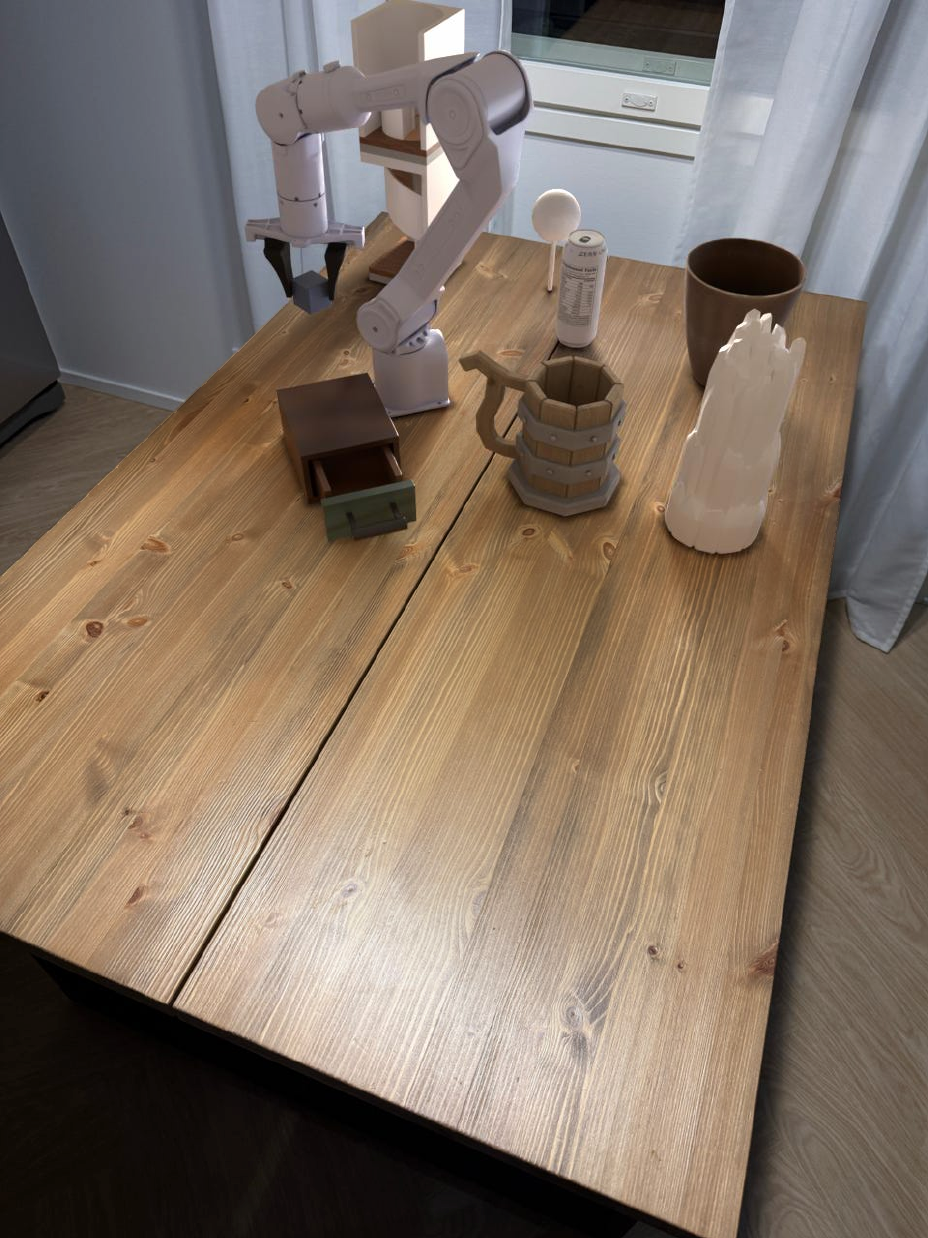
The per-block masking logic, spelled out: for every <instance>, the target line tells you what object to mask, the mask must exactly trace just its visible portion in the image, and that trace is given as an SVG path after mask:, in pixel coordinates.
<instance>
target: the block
mask: <svg viewBox="0 0 928 1238" xmlns="http://www.w3.org/2000/svg"><path fill="white" fill-rule="evenodd" d="M291 286H292V293H293V295H292V303H293V305H294V306H295V307H297V308H298V309H300V310H302V311H303V312H305V313H307V314H308V315H309V316H313V315H315V314H316V313H319V312H321V311H323V310H325V309H327V308H330V307H331V306H332V301H329V297H328V278H327V277H325V276H323V275H322V274H319V273H318V272H316V271H315V270H314V269H311V270H309V271H306V272H304V273H302V274H300V275H298V276H295V277H293V279H291Z"/></svg>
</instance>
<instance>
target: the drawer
mask: <svg viewBox="0 0 928 1238" xmlns="http://www.w3.org/2000/svg"><path fill="white" fill-rule="evenodd" d="M308 463H309V470H310V474H311V477H312V480H313V483H314V485H315V488H316V491H317V493H318V496H319V499H320V501H319V502H320V504H321V511H322V518H323V519H322V520H323V524H324V525H323V526H324V531H325V536H326V539H327V542H332V541H336V540H341V539H345V538H350V537H351V538H352V541H353V542H359V541H363V540H368V539H372V538H376V537H380V536H385V535H388V534H394V533H398V532H402V531H407V530H408V524H410V523H414V522H417V501H416V485H415V483H414V481H413V479H408V480H404V478H403V472H402V470H401V471H400V469H399V467H398V464H397V462H396V460H395V458H394V456H393V454H392V452H391V450H390V448H389V445H388V444H385V445H380V446H375V447H370V448H365V449H361V450H356V451H351V452H346V453H342V454H337V455H332V456H327V457H322V458H318V459H313V460H308Z"/></svg>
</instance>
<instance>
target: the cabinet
mask: <svg viewBox="0 0 928 1238" xmlns="http://www.w3.org/2000/svg"><path fill="white" fill-rule="evenodd" d="M373 382H374V381H373V380H372V378H371V376H370V374H369V373H368V372H362V373H357V374H352V375H347V376H341V377H336V378H330V379H325V380H321V381H315V382H310V383H304V384H299V385H294V386H289V387H284V388H283V387H282V388H279V389H276V390H275V393H276V399H277V403H278V404H277V405H278V410H279V414H280V420H281V427H282V432H283V438H284V440H285V443H286V446H287V449H288V452H289V454H290V458H291V460H292V463H293V465H294V466H293V467H294V469H295V472H296V474H297V477H298V480H299V483H300V485H301V488H302V491H303V494H304V496H305V500H306V502H307V504H308V505H310V504H315V503H320V502H321V501H320V499H319V496H318V493H317V491H316V488H315V485H314V483H313V480H312V477H311V474H310V470H309V463H308V460H313V459H318V458H322V457H327V456H332V455H337V454H342V453H346V452H351V451H356V450H361V449H365V448H370V447H375V446H380V445H385V444H388V445H389V448H390V450H391V452H392V454H393V456H394V458H395V460H396V462H397V464H398V467H399V469H400V471H401V472H402V464H401V462H402V461H401V447H400V445H401V443H400V435H399V433H398V431H397V429H396V427H395V424H394V422H393V421H392V419H391V418H390V417H389V415H388V413H387V411H386V409H385V407H384V404H383V402H382V400H381V398H380V396H379V394H378V392H377V390H376V388H375V386H374V384H373Z"/></svg>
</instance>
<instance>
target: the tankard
mask: <svg viewBox="0 0 928 1238" xmlns="http://www.w3.org/2000/svg"><path fill="white" fill-rule="evenodd" d="M458 363H459V364H460V366H461V368H462V369H463V371H464V372H470V371H472V370H478V371H479V372H480V373H481V374H482V375H483V376H484V377H486V384H485V389H484V390H485V392H484V397H483V399H482V401H481V403H480V405H479V407H478V409H477V411H476V413H475V431H476V433H477V435H478V437H479V438H480V441H481V443H482V444H483V447H484V449H486V450H488V451H491V452H492V453H495V454H497V455H500V456H501V457H505V458H510V459H513V460H512V461H511V463H510V464H509V466H508V467H507V475H506V476H507V478H508V480H509V482H510V483H511V485H512V486H513V488H514V490H515V491H516V493H517V495H518V496H519V499H520V500H521V502H522V503H523V504H524V505H527V506H530V507H533V508H536V509H540V510H542V511H546V512H549V513H552V514H555V515H559V516H561V517H568V516H572V515H576V514H580V513H584V512H589V511H593V510H596V509H601V508H604V507H607V505H608V503H609V501H610V499H611V497H612V495H613V494H614V492H615V490H616V488H617V486H618V484H619V482H620V480H621V475H622V471H621V470H620V469H619V467H618V466H617V465H616V463H615V460H616V459H617V456H618V454H619V452H620V445H621V439H622V438H621V437H620V436H619V434H618V433H617V432H618V431H619V429H620V427H622V425H623V422H624V420H625V416H626V412H627V411H626V410H627V405H628V403H627V402H626V401H625V400H624V399H623V395H624V389H625V386H624V385H625V384H624V383H623V382H622V380H621V379H620V377H618V375H617V374H616V372H614V370H613V369H612V368H611V367H610V366H609V365H607V364H606V363H604V362H600V361H596V360H592V359H588V358H585V357H581V356H578V355H575V356H572V355H569V356H563V357H558V358H554V359H553V358H552V359H549V360H548V359H547V360H544V361H541V362H539V363H537V365H536V367H535V368H534V369H533V371H531V373H530V375H527V374H523V373H519V372H516V371H513V370H512V371H511V370H510V369H508V368H506V367H505V366H503V365H501V363H499V362H497V361H496V360H494V359H493V358H492V357H490V356H488V355H487V353H485V352H484V351H482V350H481V349H478V350H474V351H471V352H468V353H464V354H462V355H461V356H460V357H459V358H458ZM506 388H509V389H513V390H514V391H515V390H516V391H518V392H522V395H521V396H520V397H519V398H518V400H517V417H518V418H519V420H520V421H521V423H522V426H521V427H520V429H519V430H518V431H517V434H516V435H515V440H512V439H506V438H505V437H502V436H500V435H499V434H498V432H497V430H496V427H495V418H496V415H497V413H498V412H499V410H500V407H501V406H502V403H503V401H504V398H505V392H506Z"/></svg>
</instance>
